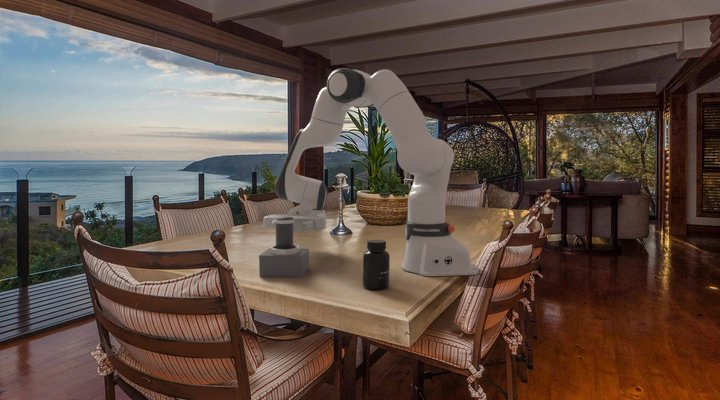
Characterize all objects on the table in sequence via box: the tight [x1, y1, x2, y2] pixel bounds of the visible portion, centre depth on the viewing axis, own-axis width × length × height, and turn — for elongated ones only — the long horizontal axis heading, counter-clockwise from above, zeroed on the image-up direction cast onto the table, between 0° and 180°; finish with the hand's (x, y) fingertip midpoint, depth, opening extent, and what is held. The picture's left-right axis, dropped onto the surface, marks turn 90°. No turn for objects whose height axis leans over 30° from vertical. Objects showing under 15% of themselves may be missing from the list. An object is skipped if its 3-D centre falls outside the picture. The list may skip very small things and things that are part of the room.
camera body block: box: [258, 243, 310, 278], centre depth 123 cm, size 12×10×8 cm
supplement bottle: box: [362, 239, 391, 291], centre depth 109 cm, size 7×7×12 cm
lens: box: [275, 216, 294, 249], centre depth 122 cm, size 5×5×10 cm
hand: (290, 225), depth 129 cm, fingers open, 8 cm apart
